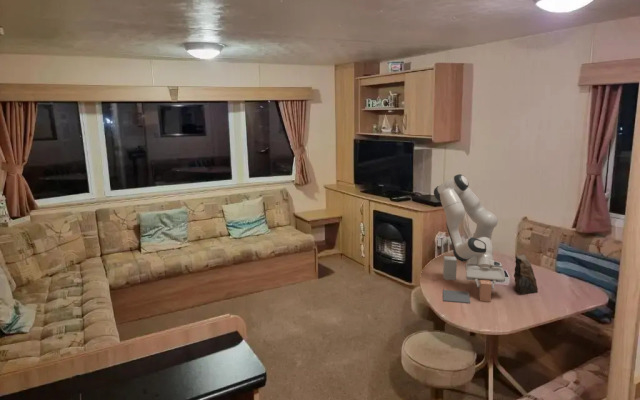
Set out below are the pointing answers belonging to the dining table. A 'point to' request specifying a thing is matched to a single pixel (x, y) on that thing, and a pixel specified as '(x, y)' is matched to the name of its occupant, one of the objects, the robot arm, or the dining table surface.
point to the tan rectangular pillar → (485, 290)
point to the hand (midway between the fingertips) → (485, 287)
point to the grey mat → (456, 296)
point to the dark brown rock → (524, 276)
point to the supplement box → (449, 268)
